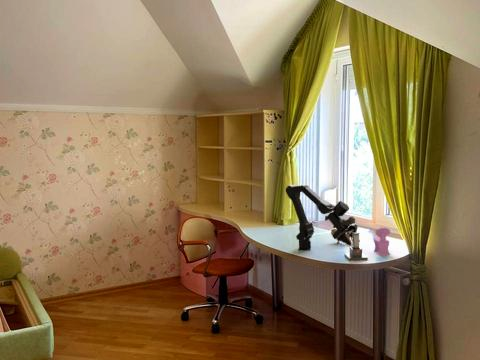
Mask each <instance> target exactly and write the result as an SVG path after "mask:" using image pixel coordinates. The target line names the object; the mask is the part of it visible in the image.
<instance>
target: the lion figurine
mask: <svg viewBox="0 0 480 360" xmlns="http://www.w3.org/2000/svg"><path fill="white" fill-rule="evenodd" d="M336 230H337V229H336V228H332V229H331V230H330V235H331V236H332V237H333V234H334V232H335V231H336ZM346 237H347V238H348V240H349V241H350V243H351V245H352V238H351V237H350V236H349V234H347V233H346ZM336 241H337V242H336V244H338V245H339V244H340V241H339V240H336Z"/></svg>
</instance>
